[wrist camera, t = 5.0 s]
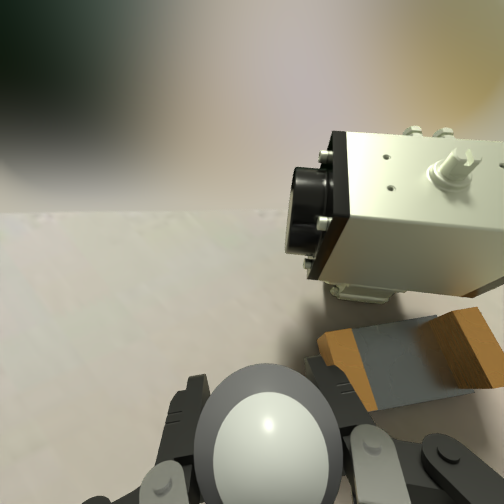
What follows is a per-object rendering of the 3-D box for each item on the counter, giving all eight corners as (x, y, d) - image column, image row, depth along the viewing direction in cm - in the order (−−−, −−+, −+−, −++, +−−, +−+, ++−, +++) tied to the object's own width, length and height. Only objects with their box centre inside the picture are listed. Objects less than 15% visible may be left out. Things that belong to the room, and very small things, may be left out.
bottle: (227, 478, 14) (177, 622, 5) (219, 383, 16) (174, 370, 7) (311, 462, 14) (399, 573, 5) (293, 370, 16) (334, 344, 8)
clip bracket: (332, 416, 16) (350, 422, 13) (312, 338, 18) (323, 327, 15) (474, 390, 16) (525, 390, 13) (438, 316, 18) (474, 301, 15)
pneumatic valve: (445, 322, 18) (703, 225, 8) (276, 301, 19) (296, 190, 9) (431, 252, 21) (609, 107, 10) (282, 237, 22) (304, 91, 11)
